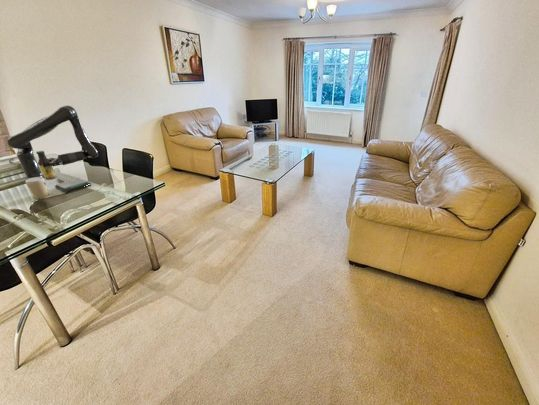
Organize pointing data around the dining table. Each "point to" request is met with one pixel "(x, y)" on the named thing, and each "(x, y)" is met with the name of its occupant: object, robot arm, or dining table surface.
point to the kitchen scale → (72, 185)
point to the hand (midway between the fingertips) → (40, 164)
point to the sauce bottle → (46, 171)
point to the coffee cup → (37, 187)
